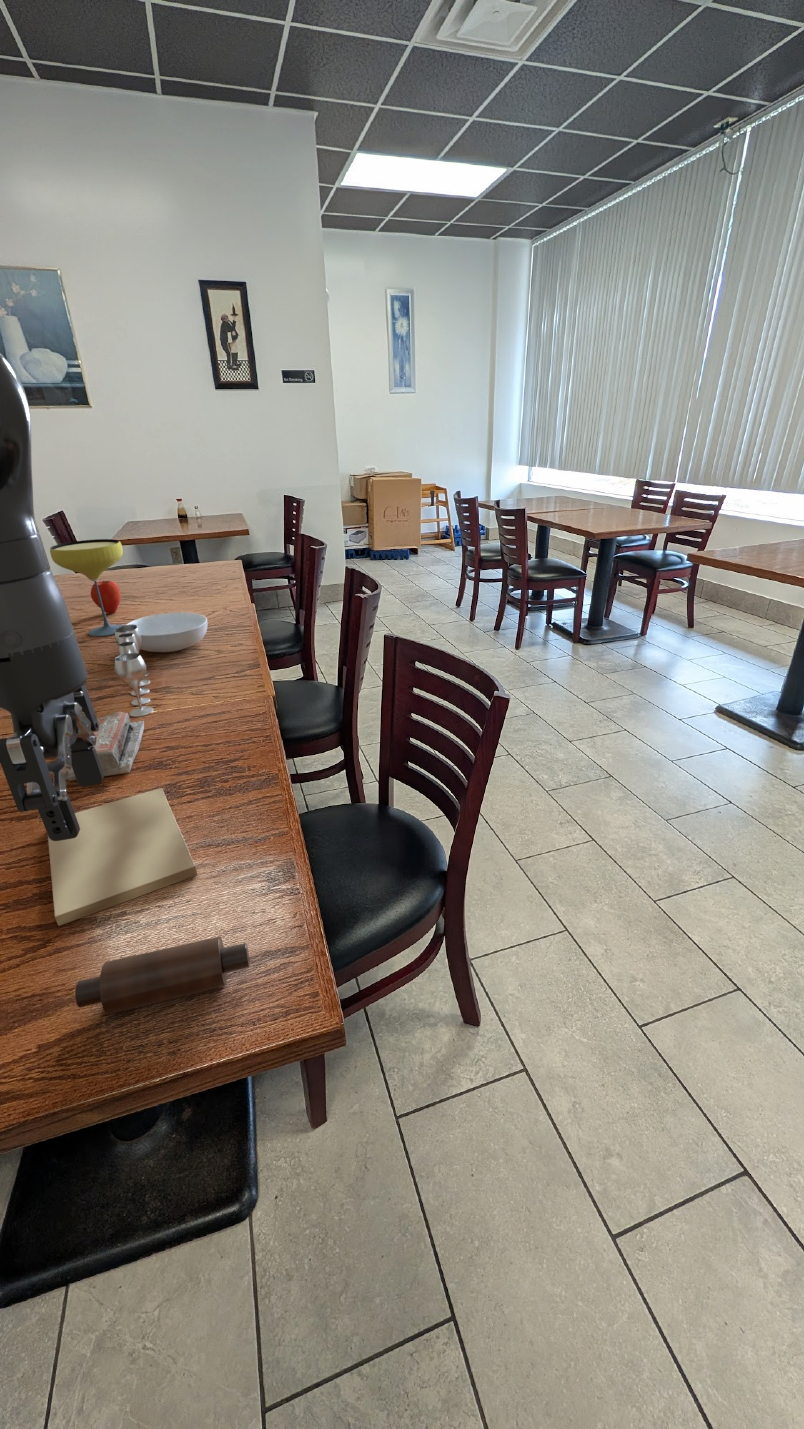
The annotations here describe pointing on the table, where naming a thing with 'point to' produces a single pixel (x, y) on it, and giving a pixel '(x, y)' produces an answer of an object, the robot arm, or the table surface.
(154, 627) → the serving bowl
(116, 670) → the goblet set
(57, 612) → the robot arm
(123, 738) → the packaged product
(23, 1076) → the table surface
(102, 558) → the cocktail glass
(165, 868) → the pastry board
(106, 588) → the apple
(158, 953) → the rolling pin
